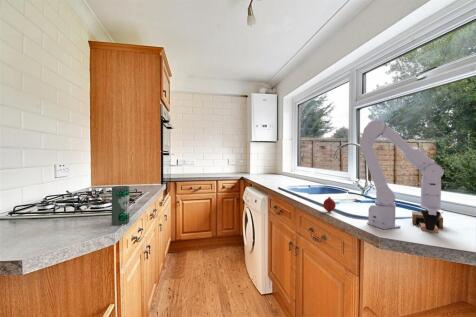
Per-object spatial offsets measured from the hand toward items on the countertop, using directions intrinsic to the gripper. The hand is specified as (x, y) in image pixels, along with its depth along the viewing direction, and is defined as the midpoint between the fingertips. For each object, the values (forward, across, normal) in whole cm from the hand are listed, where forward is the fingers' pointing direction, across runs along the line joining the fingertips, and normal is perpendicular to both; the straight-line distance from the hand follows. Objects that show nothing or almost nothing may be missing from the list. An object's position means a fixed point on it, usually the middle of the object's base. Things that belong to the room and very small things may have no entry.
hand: (429, 229), depth 84 cm
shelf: (+1, +12, 0) cm, 12 cm away
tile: (+1, +4, 0) cm, 4 cm away
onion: (+1, +7, +38) cm, 39 cm away
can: (+1, -68, +102) cm, 123 cm away
